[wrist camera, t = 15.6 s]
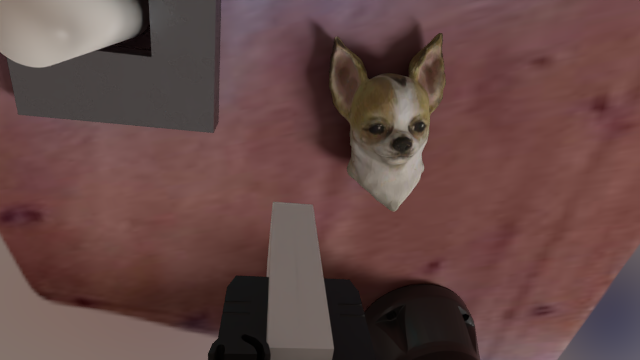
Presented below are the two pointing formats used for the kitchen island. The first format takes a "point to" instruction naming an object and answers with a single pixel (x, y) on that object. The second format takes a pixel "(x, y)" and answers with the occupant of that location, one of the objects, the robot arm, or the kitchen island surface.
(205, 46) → the block
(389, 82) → the ceramic sculpture
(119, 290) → the kitchen island surface
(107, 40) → the white tapered capsule
